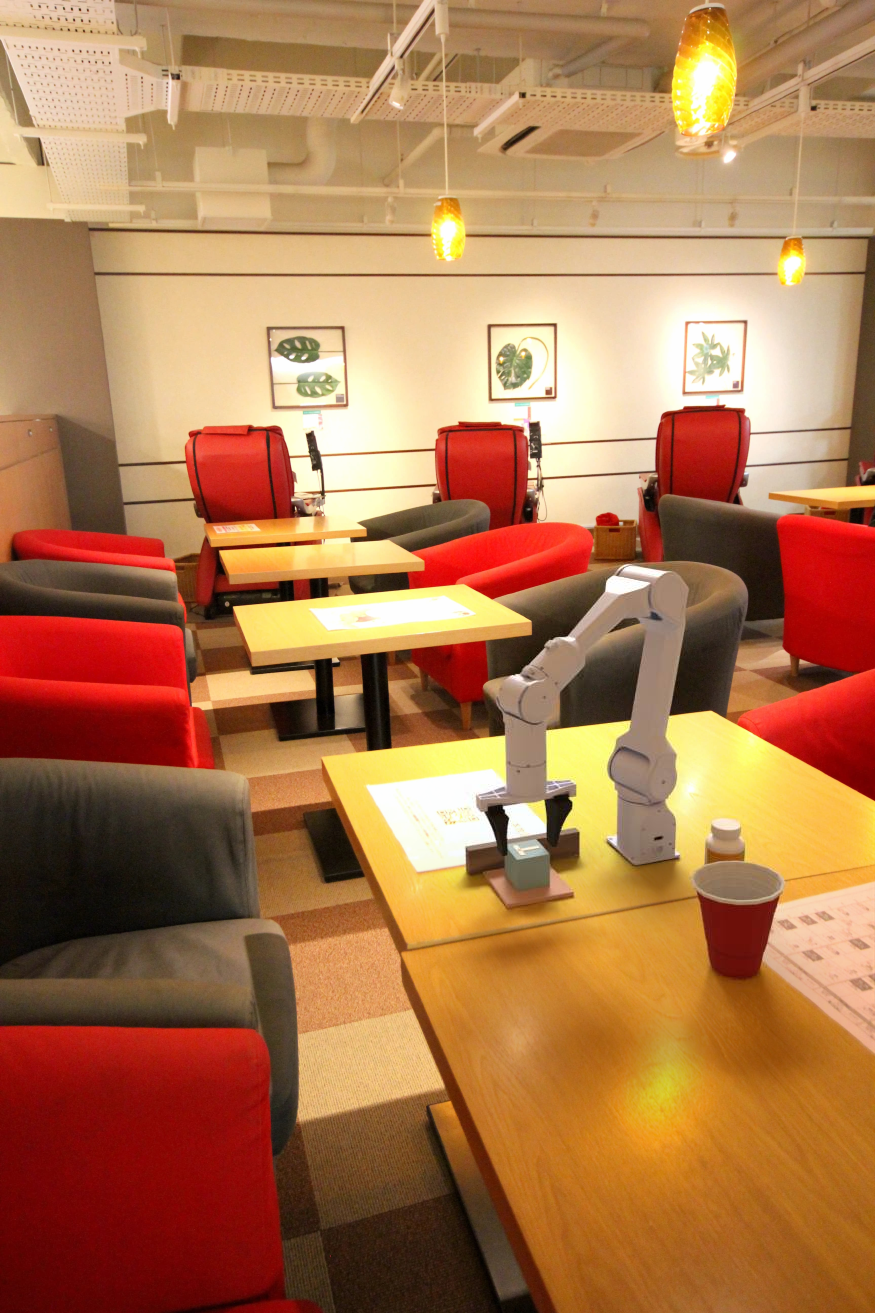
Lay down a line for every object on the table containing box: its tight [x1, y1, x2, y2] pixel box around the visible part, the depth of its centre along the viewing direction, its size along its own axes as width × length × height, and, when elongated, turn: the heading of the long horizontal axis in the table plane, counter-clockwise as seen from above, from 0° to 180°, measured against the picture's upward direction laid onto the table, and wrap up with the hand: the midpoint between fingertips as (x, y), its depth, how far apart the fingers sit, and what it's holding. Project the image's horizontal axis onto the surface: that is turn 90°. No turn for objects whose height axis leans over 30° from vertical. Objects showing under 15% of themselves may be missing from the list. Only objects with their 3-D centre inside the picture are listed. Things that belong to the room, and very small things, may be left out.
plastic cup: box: [690, 860, 787, 980], centre depth 110 cm, size 11×11×12 cm
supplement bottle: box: [703, 817, 746, 865], centre depth 128 cm, size 5×5×10 cm
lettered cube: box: [505, 839, 551, 892], centre depth 131 cm, size 5×5×5 cm
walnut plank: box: [465, 827, 581, 876], centre depth 138 cm, size 2×18×4 cm, turn 107°
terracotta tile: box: [483, 865, 575, 909], centre depth 132 cm, size 10×10×1 cm
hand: (527, 848), depth 131 cm, fingers open, 7 cm apart
